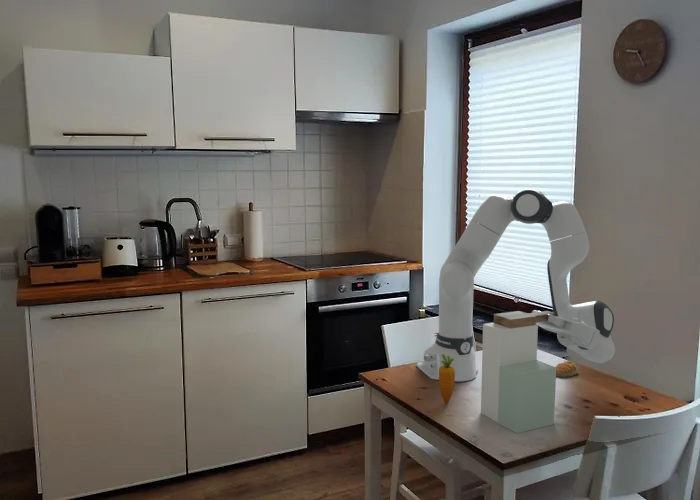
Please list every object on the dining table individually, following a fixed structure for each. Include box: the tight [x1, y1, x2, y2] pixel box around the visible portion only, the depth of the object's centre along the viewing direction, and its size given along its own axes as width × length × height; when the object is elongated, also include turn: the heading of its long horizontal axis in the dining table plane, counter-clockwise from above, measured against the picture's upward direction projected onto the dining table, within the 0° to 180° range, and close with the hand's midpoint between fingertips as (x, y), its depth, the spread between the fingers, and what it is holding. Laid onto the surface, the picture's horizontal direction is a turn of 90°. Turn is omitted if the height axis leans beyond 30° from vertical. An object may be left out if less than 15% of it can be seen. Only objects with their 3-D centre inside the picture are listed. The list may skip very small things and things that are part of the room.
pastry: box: [555, 360, 579, 378], centre depth 204 cm, size 9×7×4 cm
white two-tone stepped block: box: [480, 322, 557, 434], centre depth 165 cm, size 15×13×26 cm
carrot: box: [438, 354, 456, 405], centre depth 177 cm, size 5×5×15 cm
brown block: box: [493, 310, 555, 329], centre depth 169 cm, size 7×18×2 cm, turn 115°
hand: (542, 314), depth 172 cm, fingers closed on brown block, 3 cm apart
